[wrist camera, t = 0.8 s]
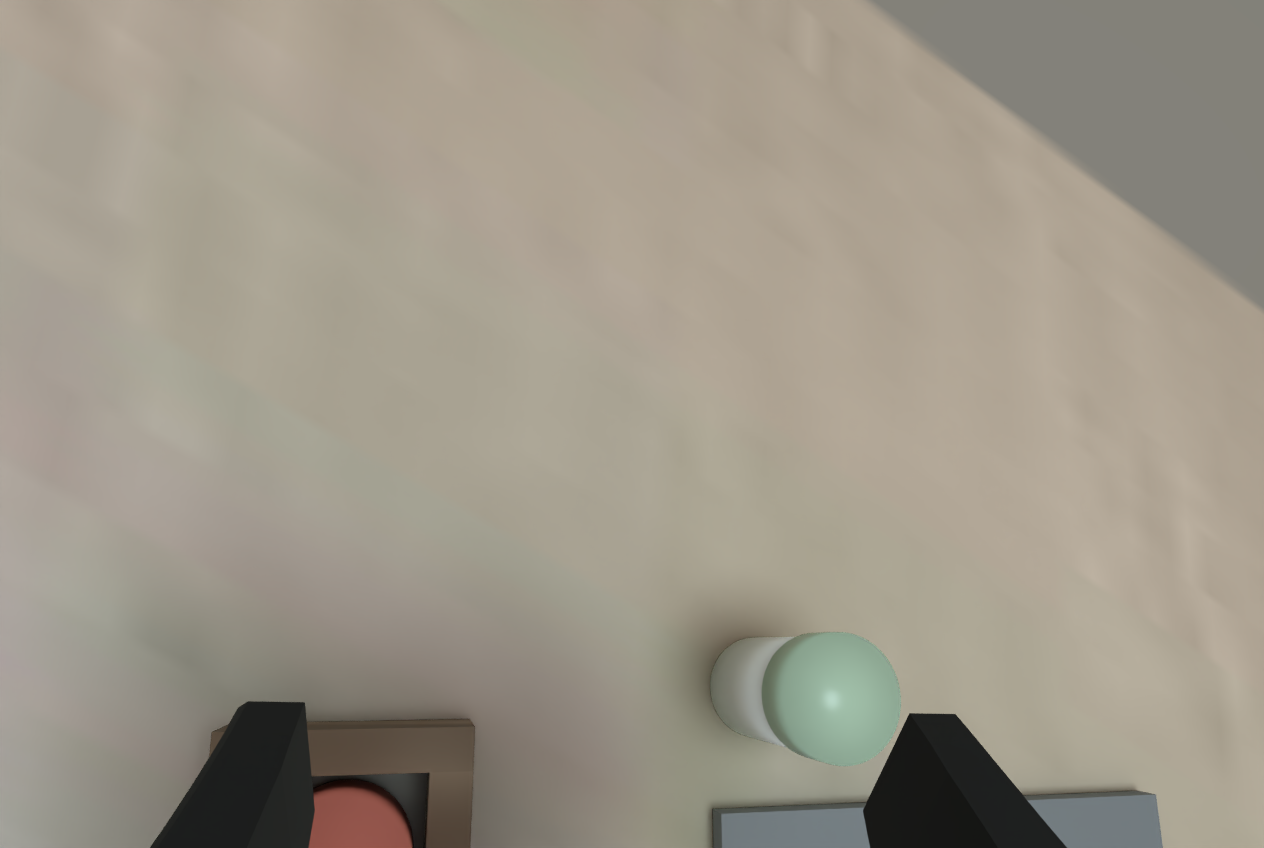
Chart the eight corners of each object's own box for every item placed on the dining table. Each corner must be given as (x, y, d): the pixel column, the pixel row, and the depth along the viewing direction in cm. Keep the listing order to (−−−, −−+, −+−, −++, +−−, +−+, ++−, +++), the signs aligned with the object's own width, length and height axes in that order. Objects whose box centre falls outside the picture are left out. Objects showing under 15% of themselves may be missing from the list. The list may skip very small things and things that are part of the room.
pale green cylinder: (805, 739, 28) (904, 764, 22) (707, 741, 27) (784, 768, 22) (801, 634, 29) (896, 632, 23) (706, 633, 28) (779, 631, 22)
